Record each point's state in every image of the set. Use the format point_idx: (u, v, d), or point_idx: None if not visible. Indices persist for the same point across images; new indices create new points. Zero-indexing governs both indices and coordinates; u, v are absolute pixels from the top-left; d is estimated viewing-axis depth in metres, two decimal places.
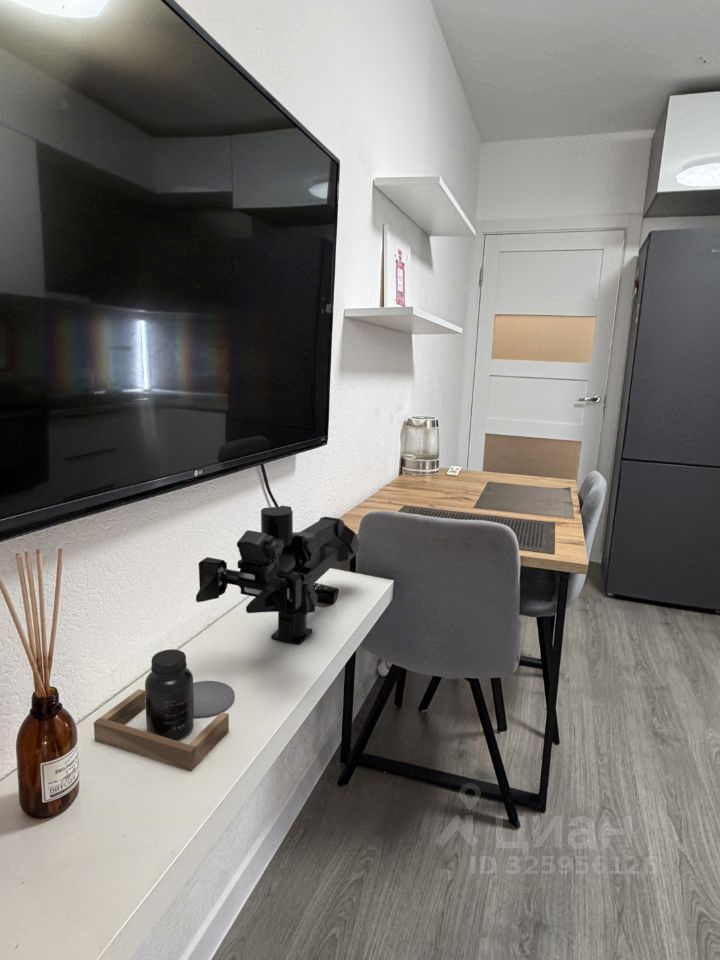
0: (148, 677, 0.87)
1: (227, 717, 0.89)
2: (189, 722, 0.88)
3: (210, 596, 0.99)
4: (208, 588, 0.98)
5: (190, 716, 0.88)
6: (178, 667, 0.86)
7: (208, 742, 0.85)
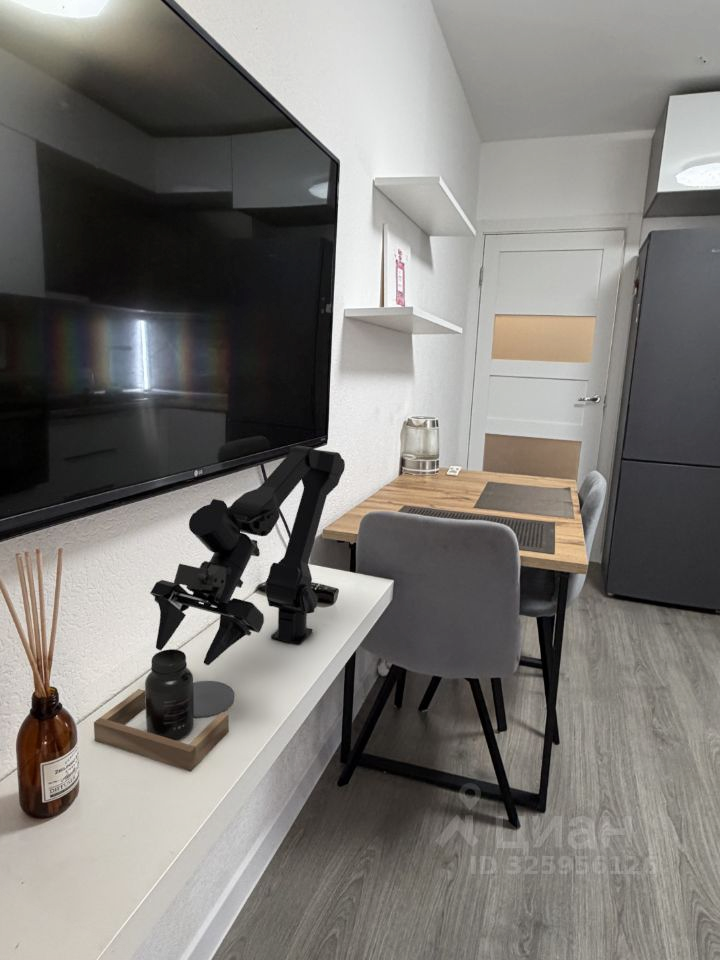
0: (148, 677, 0.87)
1: (227, 717, 0.89)
2: (189, 722, 0.88)
3: (173, 629, 0.95)
4: (166, 628, 0.94)
5: (190, 716, 0.88)
6: (178, 667, 0.86)
7: (208, 742, 0.85)
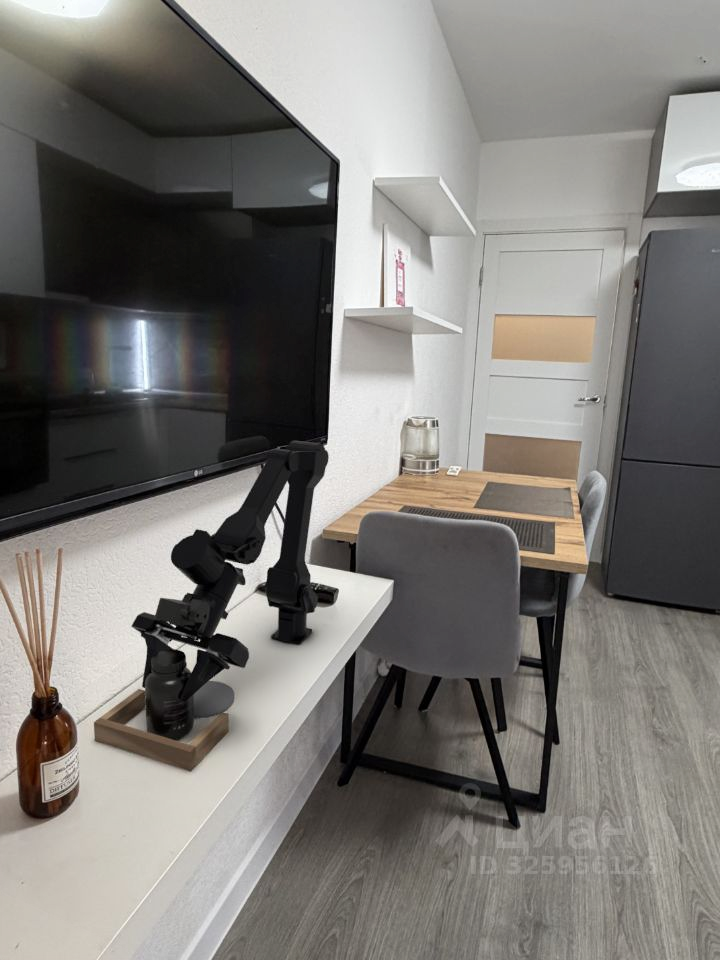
0: (148, 677, 0.87)
1: (227, 717, 0.89)
2: (189, 722, 0.88)
3: None
4: None
5: (190, 716, 0.88)
6: (178, 667, 0.86)
7: (208, 742, 0.85)
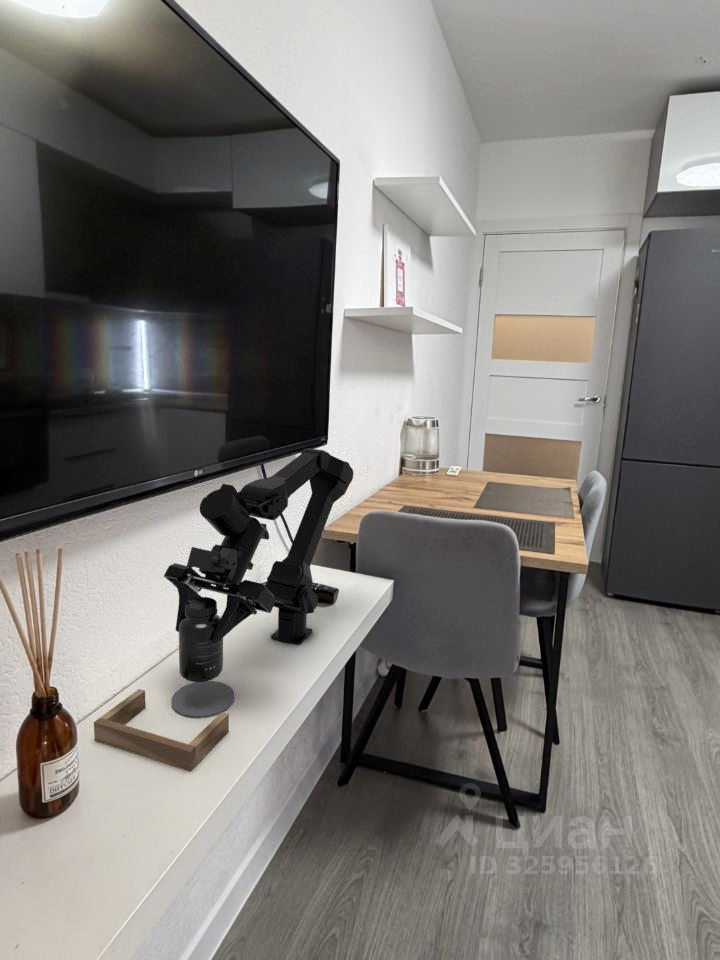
0: (182, 621, 0.93)
1: (227, 717, 0.89)
2: (219, 664, 0.94)
3: None
4: None
5: (220, 659, 0.95)
6: (210, 611, 0.92)
7: (208, 742, 0.85)
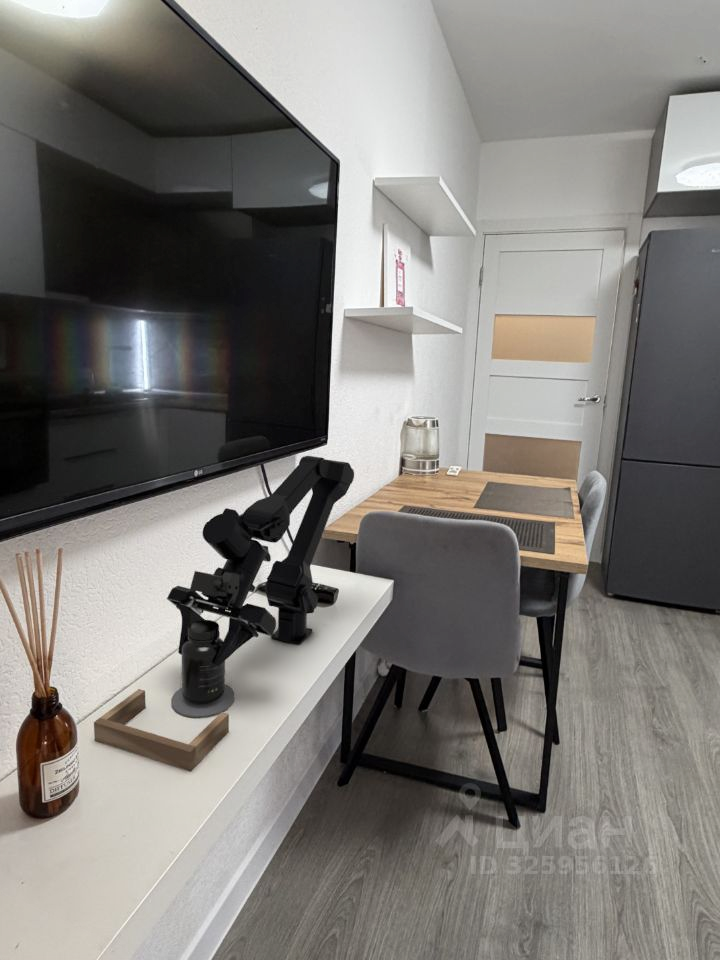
0: (184, 644, 0.95)
1: (227, 717, 0.89)
2: (221, 686, 0.96)
3: None
4: None
5: (222, 681, 0.96)
6: (212, 635, 0.94)
7: (208, 742, 0.85)
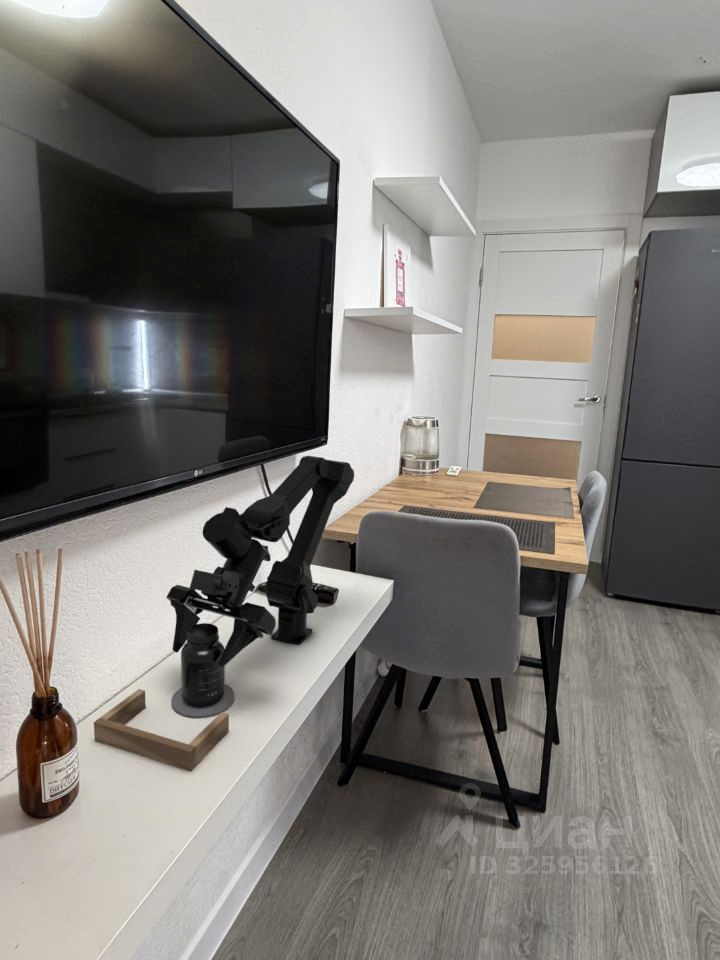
0: (184, 648, 0.94)
1: (227, 717, 0.89)
2: (221, 690, 0.96)
3: None
4: (182, 631, 0.98)
5: (222, 685, 0.96)
6: (212, 639, 0.94)
7: (208, 742, 0.85)
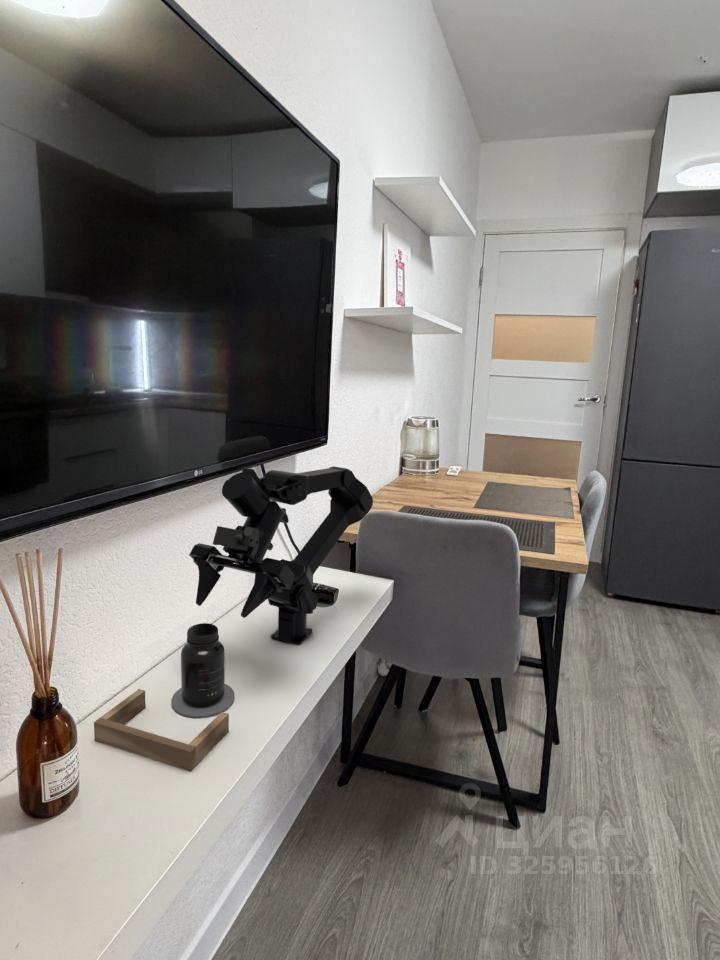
0: (184, 648, 0.95)
1: (227, 717, 0.89)
2: (221, 690, 0.96)
3: (211, 587, 1.04)
4: (205, 586, 1.02)
5: (222, 685, 0.96)
6: (212, 638, 0.94)
7: (208, 742, 0.85)
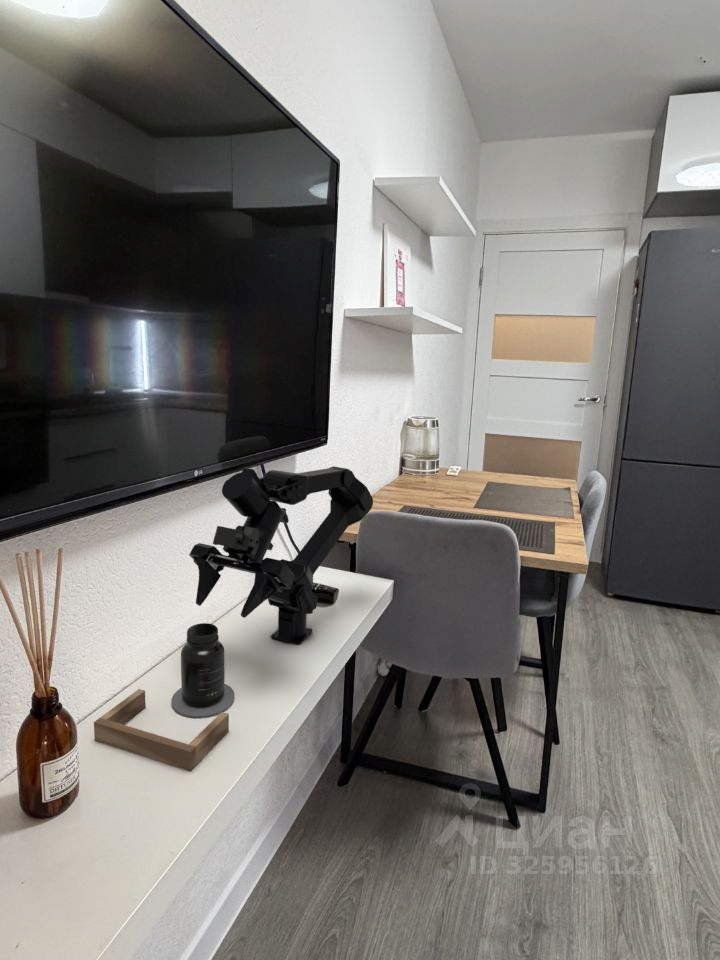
0: (183, 648, 0.95)
1: (227, 717, 0.89)
2: (221, 689, 0.96)
3: (211, 587, 1.04)
4: (205, 586, 1.02)
5: (222, 684, 0.96)
6: (211, 638, 0.94)
7: (208, 742, 0.85)
